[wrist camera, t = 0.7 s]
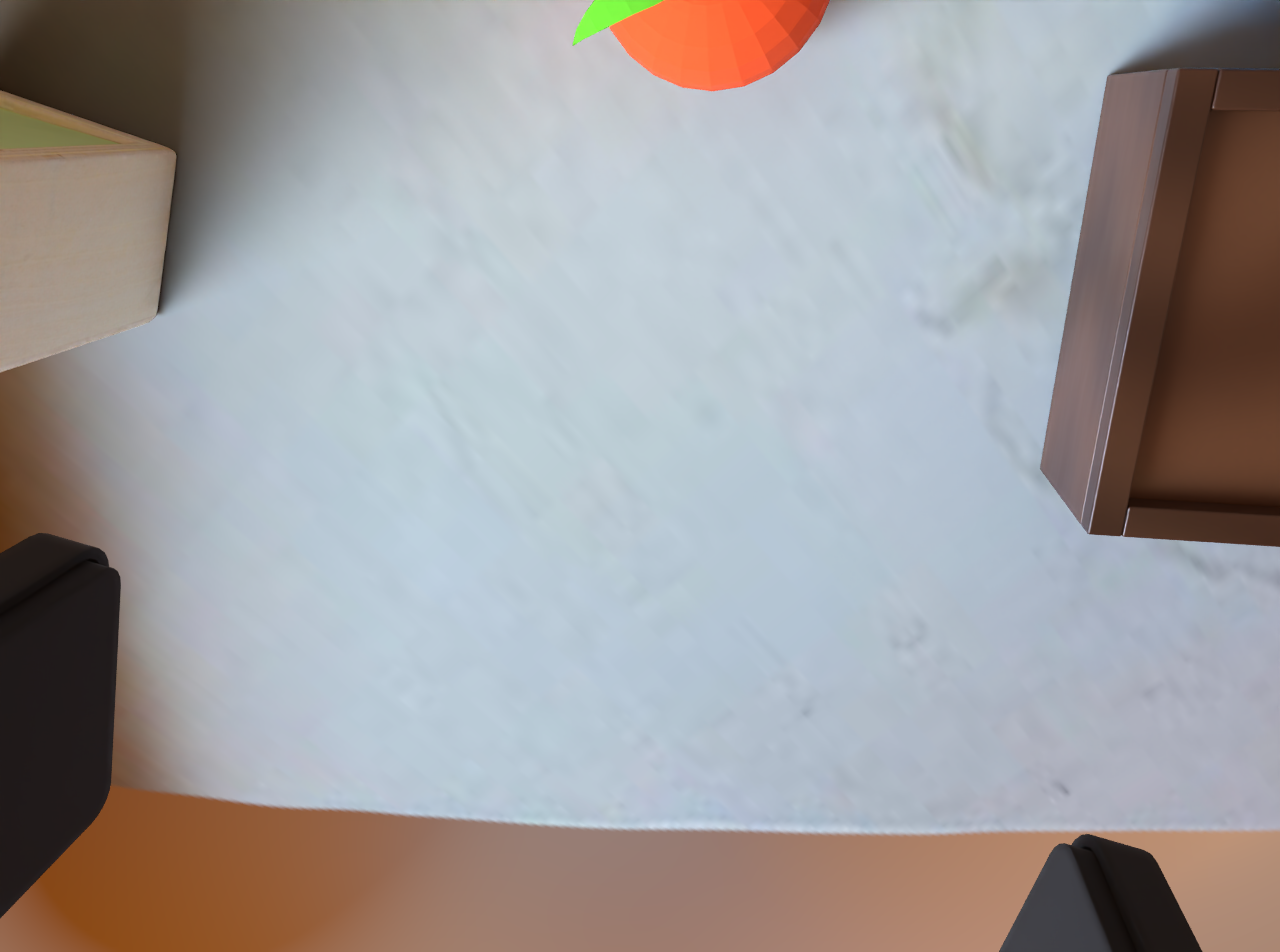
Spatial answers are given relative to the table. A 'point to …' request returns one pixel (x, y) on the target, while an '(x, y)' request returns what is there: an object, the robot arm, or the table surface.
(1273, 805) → the table surface
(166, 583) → the table surface
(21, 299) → the tall white pillar block
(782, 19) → the clementine
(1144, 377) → the tray
